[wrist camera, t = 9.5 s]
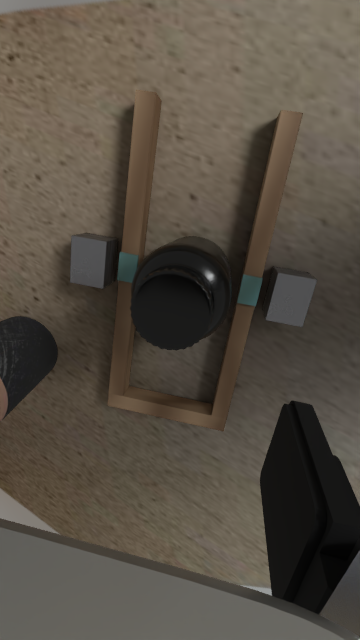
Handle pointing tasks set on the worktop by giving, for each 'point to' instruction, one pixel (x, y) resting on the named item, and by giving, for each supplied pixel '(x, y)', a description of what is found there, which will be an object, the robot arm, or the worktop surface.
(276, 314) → the pivot blocks
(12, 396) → the travel mug
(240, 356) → the walnut rails
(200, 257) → the supplement bottle
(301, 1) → the worktop surface
